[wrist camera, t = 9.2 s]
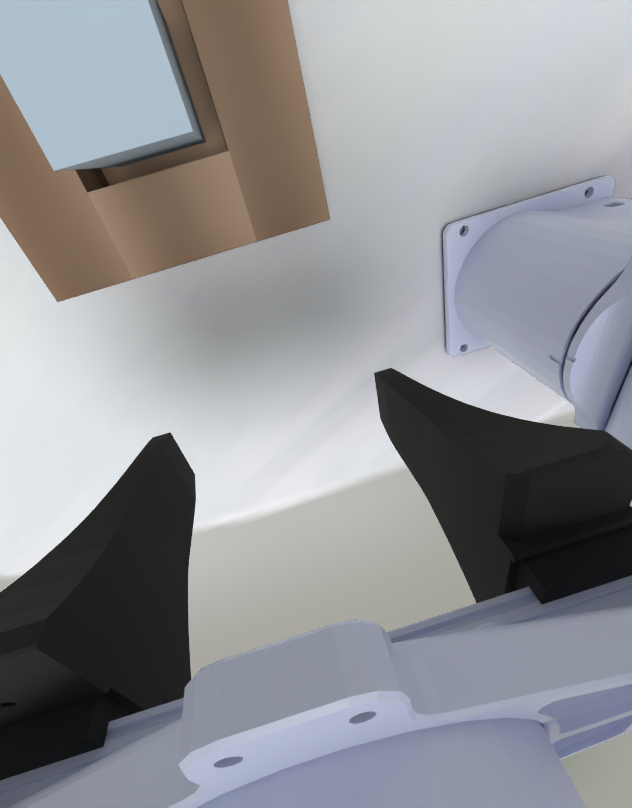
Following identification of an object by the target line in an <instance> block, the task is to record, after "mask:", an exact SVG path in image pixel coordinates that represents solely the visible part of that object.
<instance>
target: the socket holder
mask: <svg viewBox="0 0 632 808" xmlns="http://www.w3.org/2000/svg"><path fill="white" fill-rule="evenodd" d="M157 2H158V4H159V7H160V9H161V11H162V13H163V16H164V18H165V20H166V23H167V26H168V29H169V32H170V35H171V38H172V41H173V44H174V47H175V50H176V53H177V56H178V59H179V62H180V65H181V68H182V71H183V74H184V77H185V80H186V83H187V86H188V89H189V92H190V95H191V98H192V101H193V104H194V107H195V110H196V113H197V116H198V119H199V122H200V125H201V128H202V131H203V134H204V137H205V140H206V142H205V143H202V144H198V145H195V146H192V147H188V148H185V149H181V150H178V151H174V152H171V153H167V154H164V155H160V156H157V157H153V158H150V159H146V160H143V161H139V162H136V163H132V164H129V165H125V166H122V167H106V168H91V169H76V170H60V171H54V170H53V168H52V167H51V165H50V163H49V161H48V159H47V158H46V156H45V154H44V152H43V150H42V149H41V147H40V145H39V143H38V141H37V140H36V138H35V136H34V134H33V132H32V131H31V129H30V127H29V125H28V123H27V122H26V120H25V118H24V116H23V114H22V112H21V111H20V109H19V107H18V105H17V103H16V102H15V100H14V98H13V96H12V94H11V93H10V91H9V89H8V87H7V85H6V84H5V82H4V80H3V78H2V76H1V75H0V218H1V219H2V221H3V222H4V224H5V225H6V227H7V228H8V229H9V231H10V232H11V234H12V235H13V237H14V238H15V240H16V241H17V243H18V244H19V246H20V247H21V249H22V250H23V252H24V253H25V255H26V256H27V258H28V259H29V261H30V262H31V264H32V265H33V266H34V268H35V269H36V271H37V272H38V274H39V275H40V277H41V278H42V280H43V281H44V283H45V284H46V286H47V287H48V289H49V290H50V292H51V293H52V295H53V296H54V298H55V299H56V300H57V302H60V301H63V300H66V299H69V298H73V297H76V296H79V295H83V294H86V293H89V292H93V291H96V290H99V289H102V288H106V287H109V286H112V285H116V284H119V283H122V282H126V281H129V280H132V279H135V278H139V277H142V276H145V275H149V274H152V273H155V272H159V271H162V270H165V269H168V268H172V267H175V266H178V265H182V264H185V263H188V262H192V261H195V260H198V259H201V258H205V257H208V256H211V255H215V254H218V253H221V252H225V251H228V250H231V249H234V248H238V247H241V246H244V245H248V244H251V243H254V242H257V241H261V240H264V239H267V238H271V237H274V236H277V235H281V234H284V233H287V232H290V231H294V230H297V229H300V228H304V227H307V226H310V225H314V224H317V223H320V222H323V221H327V220H330V216H329V211H328V206H327V201H326V196H325V190H324V185H323V180H322V175H321V170H320V165H319V160H318V155H317V149H316V144H315V139H314V134H313V129H312V124H311V119H310V114H309V108H308V103H307V98H306V93H305V88H304V83H303V78H302V73H301V67H300V62H299V57H298V52H297V47H296V42H295V37H294V32H293V26H292V21H291V16H290V11H289V6H288V1H287V0H157Z"/></svg>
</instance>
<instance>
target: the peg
mask: <svg viewBox="0 0 632 808" xmlns="http://www.w3.org/2000/svg"><path fill="white" fill-rule="evenodd" d="M0 75H1V76H2V78H3V80H4V82H5V84H6V85H7V87H8V89H9V91H10V93H11V94H12V96H13V98H14V100H15V102H16V103H17V105H18V107H19V109H20V111H21V112H22V114H23V116H24V118H25V120H26V122H27V123H28V125H29V127H30V129H31V131H32V132H33V134H34V136H35V138H36V140H37V141H38V143H39V145H40V147H41V149H42V150H43V152H44V154H45V156H46V158H47V159H48V161H49V163H50V165H51V167H52V168H53V170H54V171H60V170H76V169H91V168H106V167H122V166H125V165H129V164H132V163H136V162H139V161H143V160H146V159H150V158H153V157H157V156H160V155H164V154H167V153H171V152H174V151H178V150H181V149H185V148H188V147H192V146H195V145H198V144H202V143H205V142H206V140H205V137H204V134H203V131H202V128H201V125H200V122H199V119H198V116H197V113H196V110H195V107H194V104H193V101H192V98H191V95H190V92H189V89H188V86H187V83H186V80H185V77H184V74H183V71H182V68H181V65H180V62H179V59H178V56H177V53H176V50H175V47H174V44H173V41H172V38H171V35H170V32H169V29H168V26H167V23H166V20H165V18H164V16H163V13H162V11H161V9H160V7H159V4H158V2H157V0H0Z"/></svg>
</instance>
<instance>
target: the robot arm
mask: <svg viewBox="0 0 632 808" xmlns="http://www.w3.org/2000/svg"><path fill="white" fill-rule="evenodd" d="M614 187H615V179H614V177H612V176H602V177H599V178H596V179H592V180H589V181H586V182H583V183H579V184H576V185H573V186H570V187H566V188H563V189H560V190H556V191H553V192H550V193H547V194H543V195H540V196H537V197H534V198H530V199H527V200H524V201H521V202H517V203H514V204H511V205H508V206H504V207H501V208H498V209H494V210H491V211H488V212H485V213H481V214H478V215H475V216H472V217H468V218H465V219H462V220H459V221H455V222H452V223H450V224H448V225H447V226H446V227H445V229H444V231H443V255H444V287H445V320H446V351H447V353H448V354H449V355H450V356H451V357H457V356H461V355H464V354H467V353H470V352H473V351H476V350H479V349H483V348H486V347H489V346H491V347H492V348H494V349H495V350H497V351H498V352H499V353H501V354H502V355H504V356H505V357H506V358H508V359H509V360H511V361H512V362H514V363H515V364H516V365H518V366H519V367H521V368H522V369H523V370H525V371H526V372H528V373H529V374H530V375H532V376H533V377H535V378H536V379H538V380H539V381H540V382H542V383H543V384H545V385H546V386H547V387H549V388H550V389H552V390H553V391H554V392H556V393H557V394H559V395H560V396H561V397H563V398H564V399H566V400H567V401H569V402H570V403H571V404H573V406H574V408H575V417H574V423H575V424H576V425H578V426H579V427H580V428H572V427H562V426H556V425H550V424H544V423H538V422H532V421H527V420H522V419H518V418H513V417H509V416H505V415H501V414H497V413H494V412H490V411H487V410H484V409H481V408H477V407H474V406H471V405H468V404H466V403H463V402H460V401H458V400H455V399H453V398H451V397H448V396H446V395H443V394H441V393H439V392H437V391H435V390H433V389H431V388H428V387H426V386H424V385H422V384H421V383H419V382H417V381H415V380H413V379H411V378H409V377H407V376H405V375H404V374H402V373H400V372H398V371H396V370H394V369H392V368H389V369H386V370H383V371H379V372H376V373H374V375H375V382H376V389H377V396H378V404H379V411H380V418H381V421H382V423H383V425H384V427H385V429H386V432H387V434H388V436H389V438H390V440H391V442H392V444H393V445H394V447H395V448H396V450H397V451H398V453H399V455H400V456H401V458H402V459H403V461H404V462H405V464H406V465H407V467H408V468H409V470H410V471H411V473H412V475H413V476H414V478H415V479H416V481H417V482H418V484H419V485H420V487H421V489H422V490H423V492H424V493H425V495H426V497H427V499H428V500H429V502H430V504H431V507H432V509H433V510H434V513H435V515H436V517H437V518H438V520H439V523H440V524H441V526H442V528H443V531H444V533H445V534H446V537H447V539H448V541H449V543H450V545H451V547H452V549H453V552H454V554H455V556H456V558H457V560H458V562H459V565H460V567H461V569H462V571H463V573H464V575H465V577H466V580H467V582H468V584H469V587H470V589H471V591H472V593H473V596H474V598H475V600H476V604H473V605H470V606H467V607H464V608H461V609H457V610H454V611H451V612H448V613H445V614H442V615H439V616H436V617H433V618H430V619H426V620H424V621H420V622H417V623H414V624H411V625H408V626H405V627H402V628H399V629H396V630H392V631H389V632H386V631H385V630H384V629H383V628H382V627H381V626H380V625H379V624H377V623H375V622H370V621H362V620H351V621H346V622H340V623H335V624H331V625H327V626H324V627H321V628H318V629H315V630H312V631H309V632H306V633H303V634H300V635H296V636H293V637H290V638H287V639H284V640H281V641H277V642H274V643H271V644H268V645H265V646H262V647H259V648H255V649H252V650H249V651H246V652H243V653H240V654H237V655H233V656H230V657H227V658H224V659H221V660H219V661H217V662H215V663H213V664H210V665H208V666H206V667H204V668H202V669H200V670H199V671H198V672H197V674H196V675H195V676H194V677H193V678H192V679H191V671H190V652H189V633H188V566H189V555H190V546H191V538H192V529H193V521H194V512H195V502H196V492H195V474H194V472H193V470H192V469H191V467H190V465H189V464H188V462H187V460H186V458H185V457H184V455H183V453H182V452H181V450H180V448H179V446H178V445H177V443H176V441H175V440H174V438H173V436H172V434H171V433H167V434H163V435H160V436H157V437H153V438H152V439H151V440H150V441H149V442H148V444H147V445H146V446H145V447H144V448H143V450H142V451H141V452H140V454H139V455H138V456H137V457H136V459H135V460H134V461H133V463H132V464H131V465H130V466H129V468H128V469H127V470H126V472H125V473H124V474H123V475H122V477H121V478H120V479H119V480H118V482H117V483H116V484H115V485H114V486H113V488H112V489H111V490H110V491H109V492H108V494H107V495H106V496H105V497H104V498H103V499H102V501H101V502H100V503H99V504H98V505H97V506H96V508H95V509H94V510H93V511H92V512H91V513H90V514H89V515H88V516H87V517H86V518H85V519H84V520H83V521H82V522H81V523H80V524H79V525H78V526H77V527H76V528H75V529H74V530H73V531H72V532H71V533H70V534H69V535H68V536H67V537H66V538H65V539H64V540H63V541H62V542H61V543H60V544H58V545H57V546H56V547H55V548H54V549H53V550H52V551H51V552H49V553H48V554H47V555H46V556H45V557H44V558H43V559H41V560H40V561H39V562H38V563H37V564H36V565H35V566H33V567H32V568H31V569H30V570H28V571H27V572H26V573H25V574H24V575H22V576H21V577H20V578H19V579H17V580H16V581H15V582H13V583H12V584H11V585H10V586H8V587H7V588H6V589H4V590H3V591H2V592H0V808H587V807H586V805H585V803H584V801H583V800H582V798H581V796H580V794H579V793H578V791H577V789H576V787H575V785H574V783H573V782H572V780H571V778H570V776H569V774H568V772H567V771H566V769H565V767H564V765H563V764H562V762H561V759H564V758H566V757H569V756H571V755H574V754H576V753H579V752H581V751H583V750H586V749H588V748H591V747H593V746H596V745H598V744H600V743H603V742H606V741H608V740H610V739H613V738H615V737H618V736H620V735H623V734H625V733H628V732H630V731H632V199H628V198H618V197H612V196H613V191H614ZM587 189H588V192H587V194H586V195H585V191H586V190H587ZM463 226H465V231H464V233H463V234H461V235H460V233H459V232H460V229H461V227H463ZM464 344H465V345H464ZM462 345H464V347H463V348H462V349H460V348H461V346H462Z"/></svg>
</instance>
